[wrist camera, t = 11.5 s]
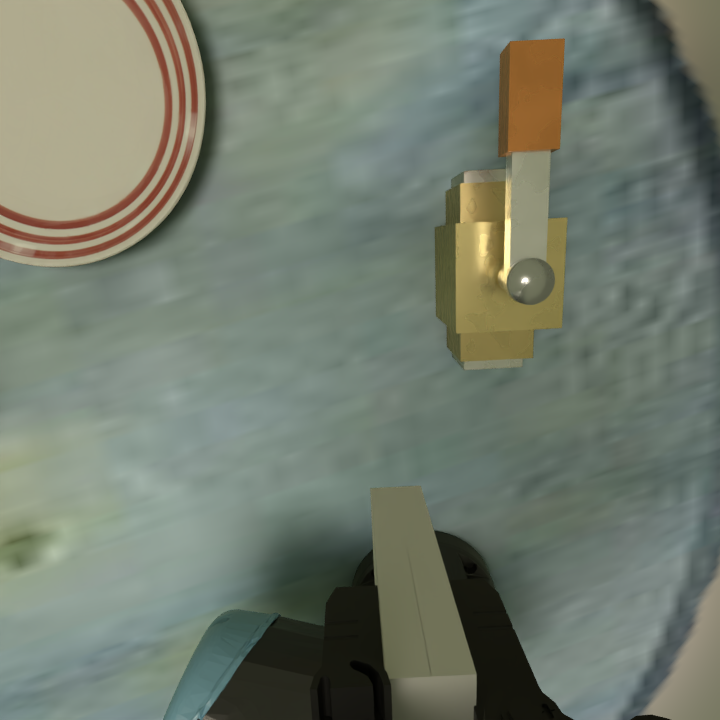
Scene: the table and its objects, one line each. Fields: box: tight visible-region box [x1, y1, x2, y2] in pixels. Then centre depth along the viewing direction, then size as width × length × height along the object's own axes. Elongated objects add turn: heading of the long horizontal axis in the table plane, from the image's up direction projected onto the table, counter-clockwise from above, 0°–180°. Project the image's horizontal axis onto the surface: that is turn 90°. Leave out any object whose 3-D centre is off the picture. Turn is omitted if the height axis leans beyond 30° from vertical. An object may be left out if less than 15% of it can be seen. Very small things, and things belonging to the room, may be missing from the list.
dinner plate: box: [0, 0, 206, 267], centre depth 39 cm, size 28×27×3 cm
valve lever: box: [498, 39, 565, 305], centre depth 32 cm, size 3×16×4 cm, turn 3°
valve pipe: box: [435, 169, 567, 370], centre depth 40 cm, size 16×8×9 cm, turn 3°
